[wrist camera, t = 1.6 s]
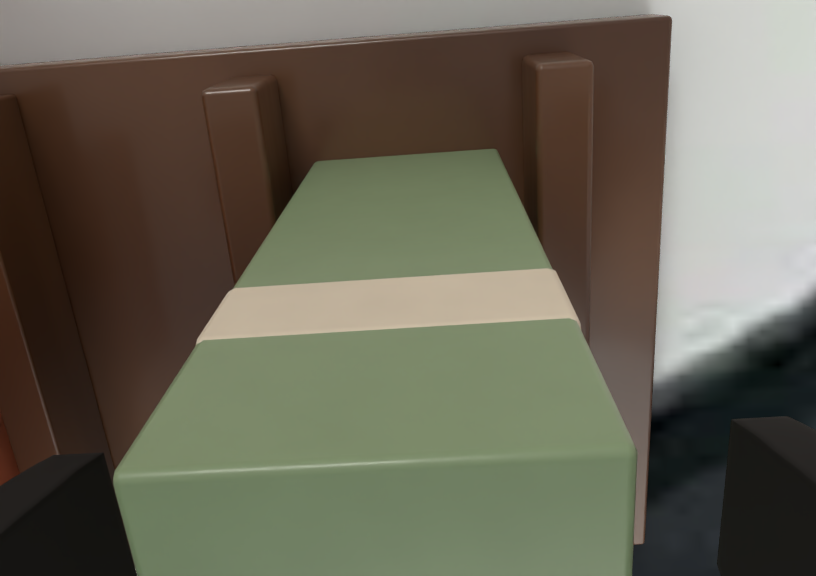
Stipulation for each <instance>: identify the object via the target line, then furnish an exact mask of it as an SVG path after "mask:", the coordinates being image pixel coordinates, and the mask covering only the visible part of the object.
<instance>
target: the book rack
mask: <svg viewBox="0 0 816 576" xmlns="http://www.w3.org/2000/svg"><path fill="white" fill-rule="evenodd" d="M671 31H672V19H671V17H670V16H665V15H654V14H648V15H636V16H623V17H610V18H598V19H585V20H572V21H560V22H547V23H534V24H522V25H509V26H496V27H484V28H471V29H458V30H446V31H433V32H420V33H408V34H395V35H382V36H370V37H357V38H344V39H332V40H319V41H306V42H294V43H281V44H268V45H256V46H243V47H230V48H218V49H205V50H192V51H180V52H167V53H154V54H142V55H129V56H116V57H104V58H91V59H78V60H66V61H53V62H40V63H28V64H15V65H2V66H0V413H1V416H2V419H3V422H4V425H5V428H6V432H7V435H8V438H9V441H10V444H11V447H12V450H13V453H14V456H15V460H16V463H17V466H18V469H19V472H20V473H22V472H23V471H25V470H27V469H29V468H30V467H32V466H34V465H35V464H37V463H39V462H41V461H43V460H45V459H47V458H49V457H50V456H52V455H64V454H83V453H102V452H104V455H105V459H106V463H107V467H108V470H109V474H110V478H111V481H112V485H113V477H114V472H115V470H116V468H117V467H118V465H119V464H120V462H121V460H122V459H123V457H124V456H125V454H126V453H127V451H128V450H129V448H130V447H131V445H132V443H133V442H134V440H135V439H136V437H137V436H138V434H139V433H140V431H141V430H142V428H143V427H144V425H145V423H146V422H147V420H148V419H149V417H150V416H151V414H152V413H153V411H154V410H155V408H156V406H157V405H158V403H159V402H160V400H161V399H162V397H163V396H164V394H165V393H166V391H167V389H168V388H169V386H170V385H171V383H172V382H173V380H174V379H175V377H176V376H177V374H178V373H179V371H180V369H181V368H182V366H183V365H184V363H185V362H186V360H187V359H188V357H189V356H190V354H191V352H192V351H193V349H194V348H195V346H196V342H197V339H198V337H199V336H200V334H201V332H202V331H203V329H204V328H205V326H206V325H207V323H208V322H209V320H210V319H211V317H212V316H213V314H214V313H215V311H216V310H217V308H218V307H219V305H220V304H221V302H222V300H223V299H224V297H225V296H226V294H227V293H228V291H230V290H232V289H233V288H234V286H235V285H236V283H237V281H238V280H239V278H240V277H241V275H242V274H243V272H244V271H245V269H246V268H247V266H248V265H249V263H250V261H251V260H252V258H253V257H254V255H255V254H256V252H257V251H258V249H259V248H260V246H261V244H262V243H263V241H264V240H265V238H266V237H267V235H268V234H269V232H270V231H271V229H272V228H273V226H274V224H275V223H276V221H277V220H278V218H279V217H280V215H281V214H282V212H283V211H284V209H285V207H286V206H287V204H288V203H289V201H290V200H291V198H292V197H293V195H294V194H295V192H296V190H297V189H298V187H299V186H300V184H301V183H302V181H303V180H304V178H305V177H306V175H307V174H308V172H309V170H310V169H311V167H312V166H313V164H314V163H315V162H317V161H327V160H341V159H355V158H369V157H383V156H397V155H411V154H425V153H439V152H453V151H467V150H481V149H496V150H497V151H498V153H499V155H500V157H501V160H502V162H503V164H504V166H505V168H506V170H507V173H508V175H509V177H510V179H511V181H512V183H513V185H514V188H515V190H516V192H517V194H518V196H519V198H520V200H521V203H522V205H523V207H524V209H525V211H526V213H527V215H528V218H529V220H530V222H531V224H532V226H533V228H534V230H535V233H536V235H537V237H538V239H539V241H540V243H541V245H542V248H543V250H544V252H545V254H546V256H547V258H548V260H549V263H550V265H551V267H552V269H553V270H555V271H556V273H557V275H558V277H559V279H560V281H561V283H562V285H563V287H564V289H565V292H566V294H567V296H568V298H569V300H570V302H571V304H572V306H573V308H574V311H575V313H576V315H577V317H578V319H579V321H580V323H581V331H582V333H583V335H584V338H585V340H586V342H587V344H588V346H589V348H590V350H591V353H592V355H593V357H594V359H595V361H596V363H597V365H598V368H599V370H600V372H601V374H602V376H603V378H604V380H605V383H606V385H607V387H608V389H609V391H610V393H611V395H612V398H613V400H614V402H615V404H616V406H617V408H618V411H619V413H620V415H621V417H622V419H623V421H624V423H625V426H626V428H627V430H628V432H629V434H630V436H631V438H632V441H633V443H634V445H635V447H636V449H637V451H638V455H637V477H636V499H635V521H634V543H633V545H637V544H644V542H645V526H646V507H647V488H648V469H649V450H650V431H651V411H652V392H653V373H654V354H655V335H656V316H657V297H658V278H659V259H660V240H661V221H662V202H663V183H664V164H665V145H666V126H667V107H668V88H669V69H670V50H671ZM113 489H114V485H113ZM114 492H115V489H114ZM115 496H116V493H115ZM116 500H117V497H116ZM117 504H118V500H117ZM118 507H119V504H118ZM119 511H120V508H119ZM120 515H121V512H120ZM121 518H122V515H121ZM122 522H123V519H122ZM123 526H124V523H123ZM124 530H125V527H124ZM125 533H126V530H125ZM126 537H127V534H126ZM127 541H128V538H127ZM128 544H129V541H128ZM129 548H130V545H129ZM130 552H131V549H130ZM131 556H132V553H131ZM132 559H133V556H132ZM133 563H134V560H133ZM134 567H135V564H134Z"/></svg>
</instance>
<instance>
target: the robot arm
mask: <svg viewBox="0 0 816 576" xmlns="http://www.w3.org/2000/svg"><path fill="white" fill-rule="evenodd" d="M717 565H718V568H719V571H720V574H721V576H816V430H814V429H812V428H810V427H808V426H806V425H804V424H802V423H800V422H798V421H796V420H794V419H792V418H790V417H788V416H784V417H765V418H746V419H731V429H730V439H729V449H728V459H727V469H726V479H725V489H724V499H723V509H722V519H721V529H720V539H719V549H718V559H717ZM0 576H137V574H136V570H135V567H134V563H133V559H132V556H131V552H130V548H129V544H128V541H127V537H126V533H125V530H124V526H123V522H122V518H121V515H120V511H119V507H118V504H117V500H116V496H115V492H114V489H113V485H112V481H111V478H110V474H109V470H108V467H107V463H106V459H105V455H104V452H102V453H83V454H64V455H52V456H50V457H49V458H47V459H45V460H43V461H41V462H39V463H37V464H35V465H34V466H32V467H30V468H29V469H27V470H25V471H23V472H22V473H20V474H18V475H17V476H15V477H14V478H12V479H10V480H9V481H7V482H6V483H4V484H2V485H1V486H0Z"/></svg>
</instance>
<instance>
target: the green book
mask: <svg viewBox="0 0 816 576" xmlns="http://www.w3.org/2000/svg"><path fill="white" fill-rule="evenodd" d="M637 455H638V451H637V449H636V447H635V445H634V443H633V441H632V438H631V436H630V434H629V432H628V430H627V428H626V426H625V423H624V421H623V419H622V417H621V415H620V413H619V411H618V408H617V406H616V404H615V402H614V400H613V398H612V395H611V393H610V391H609V389H608V387H607V385H606V383H605V380H604V378H603V376H602V374H601V372H600V370H599V368H598V365H597V363H596V361H595V359H594V357H593V355H592V353H591V350H590V348H589V346H588V344H587V342H586V340H585V338H584V335H583V333H582V331H581V323H580V321H579V319H578V317H577V315H576V313H575V311H574V308H573V306H572V304H571V302H570V300H569V298H568V296H567V294H566V292H565V289H564V287H563V285H562V283H561V281H560V279H559V277H558V275H557V273H556V271H555V270H553V269H552V267H551V265H550V263H549V260H548V258H547V256H546V254H545V252H544V250H543V248H542V245H541V243H540V241H539V239H538V237H537V235H536V233H535V230H534V228H533V226H532V224H531V222H530V220H529V218H528V215H527V213H526V211H525V209H524V207H523V205H522V203H521V200H520V198H519V196H518V194H517V192H516V190H515V188H514V185H513V183H512V181H511V179H510V177H509V175H508V173H507V170H506V168H505V166H504V164H503V162H502V160H501V157H500V155H499V153H498V151H497V150H496V149H481V150H467V151H453V152H439V153H425V154H411V155H397V156H383V157H369V158H355V159H341V160H327V161H317V162H315V163H314V164H313V166H312V167H311V169H310V170H309V172H308V174H307V175H306V177H305V178H304V180H303V181H302V183H301V184H300V186H299V187H298V189H297V190H296V192H295V194H294V195H293V197H292V198H291V200H290V201H289V203H288V204H287V206H286V207H285V209H284V211H283V212H282V214H281V215H280V217H279V218H278V220H277V221H276V223H275V224H274V226H273V228H272V229H271V231H270V232H269V234H268V235H267V237H266V238H265V240H264V241H263V243H262V244H261V246H260V248H259V249H258V251H257V252H256V254H255V255H254V257H253V258H252V260H251V261H250V263H249V265H248V266H247V268H246V269H245V271H244V272H243V274H242V275H241V277H240V278H239V280H238V281H237V283H236V285H235V286H234V288H233V289H232V290H230V291H228V293H227V294H226V296H225V297H224V299H223V300H222V302H221V304H220V305H219V307H218V308H217V310H216V311H215V313H214V314H213V316H212V317H211V319H210V320H209V322H208V323H207V325H206V326H205V328H204V329H203V331H202V332H201V334H200V336H199V337H198V339H197V342H196V346H195V348H194V349H193V351H192V352H191V354H190V356H189V357H188V359H187V360H186V362H185V363H184V365H183V366H182V368H181V369H180V371H179V373H178V374H177V376H176V377H175V379H174V380H173V382H172V383H171V385H170V386H169V388H168V389H167V391H166V393H165V394H164V396H163V397H162V399H161V400H160V402H159V403H158V405H157V406H156V408H155V410H154V411H153V413H152V414H151V416H150V417H149V419H148V420H147V422H146V423H145V425H144V427H143V428H142V430H141V431H140V433H139V434H138V436H137V437H136V439H135V440H134V442H133V443H132V445H131V447H130V448H129V450H128V451H127V453H126V454H125V456H124V457H123V459H122V460H121V462H120V464H119V465H118V467H117V468H116V470H115V472H114V477H113V485H114V489H115V493H116V497H117V500H118V504H119V508H120V512H121V515H122V519H123V523H124V527H125V530H126V534H127V538H128V541H129V545H130V549H131V553H132V556H133V560H134V564H135V568H136V571H137V575H138V576H632V564H633V543H634V521H635V499H636V477H637Z"/></svg>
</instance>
